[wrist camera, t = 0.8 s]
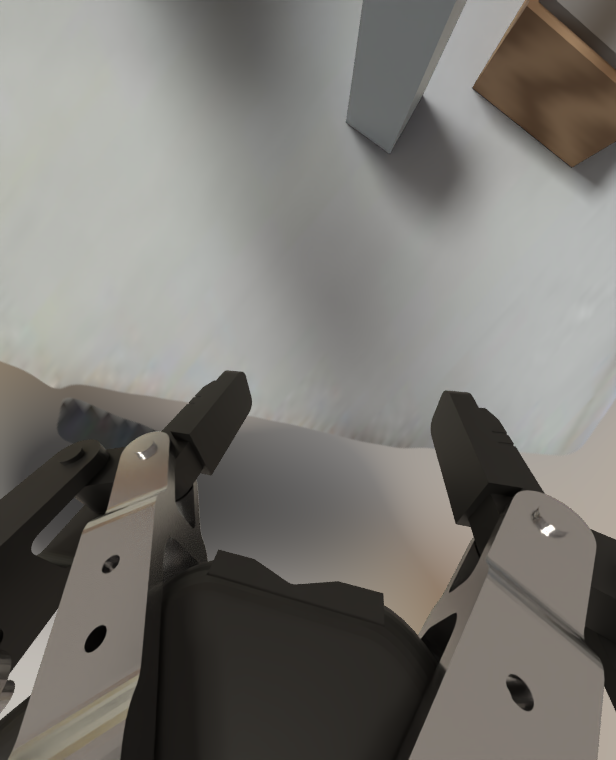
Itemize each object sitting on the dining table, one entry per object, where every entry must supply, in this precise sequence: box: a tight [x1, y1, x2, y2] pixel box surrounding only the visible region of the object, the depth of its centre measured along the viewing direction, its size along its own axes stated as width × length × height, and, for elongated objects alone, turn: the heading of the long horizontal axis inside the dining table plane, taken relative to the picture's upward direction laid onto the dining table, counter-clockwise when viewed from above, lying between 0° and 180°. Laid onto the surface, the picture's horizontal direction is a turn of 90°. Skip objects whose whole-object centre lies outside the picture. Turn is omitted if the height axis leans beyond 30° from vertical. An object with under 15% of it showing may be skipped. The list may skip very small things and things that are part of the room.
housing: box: [346, 0, 467, 154], centre depth 14 cm, size 5×5×14 cm
